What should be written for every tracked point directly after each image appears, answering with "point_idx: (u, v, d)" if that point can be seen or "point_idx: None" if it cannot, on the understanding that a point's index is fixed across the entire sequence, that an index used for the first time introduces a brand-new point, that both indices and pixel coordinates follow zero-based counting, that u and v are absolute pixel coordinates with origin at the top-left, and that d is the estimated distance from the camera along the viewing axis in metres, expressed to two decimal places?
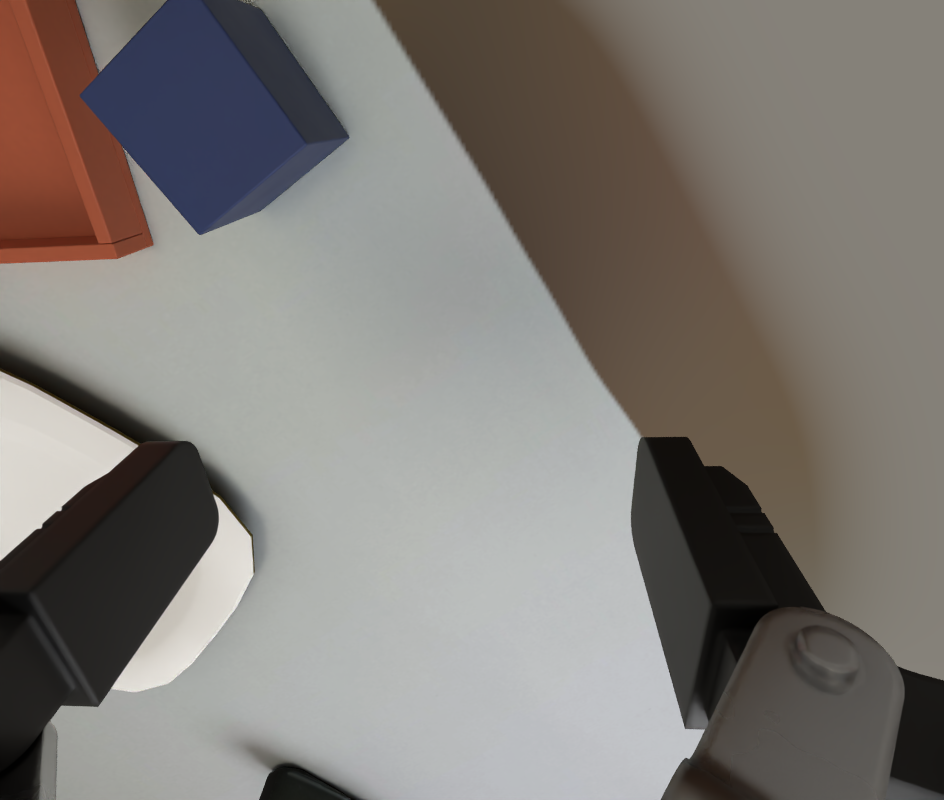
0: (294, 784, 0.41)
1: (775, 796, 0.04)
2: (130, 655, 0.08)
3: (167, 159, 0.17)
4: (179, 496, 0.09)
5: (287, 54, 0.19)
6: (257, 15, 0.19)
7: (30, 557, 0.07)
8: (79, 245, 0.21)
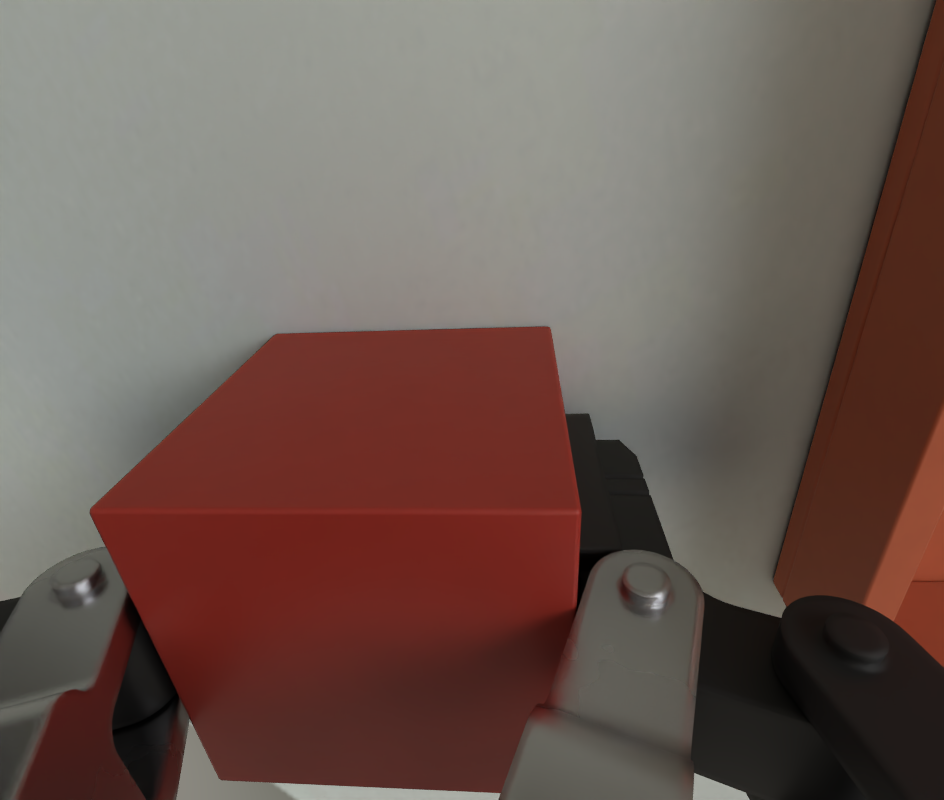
0: None
1: (569, 690, 0.05)
2: None
3: None
4: None
5: None
6: None
7: None
8: None
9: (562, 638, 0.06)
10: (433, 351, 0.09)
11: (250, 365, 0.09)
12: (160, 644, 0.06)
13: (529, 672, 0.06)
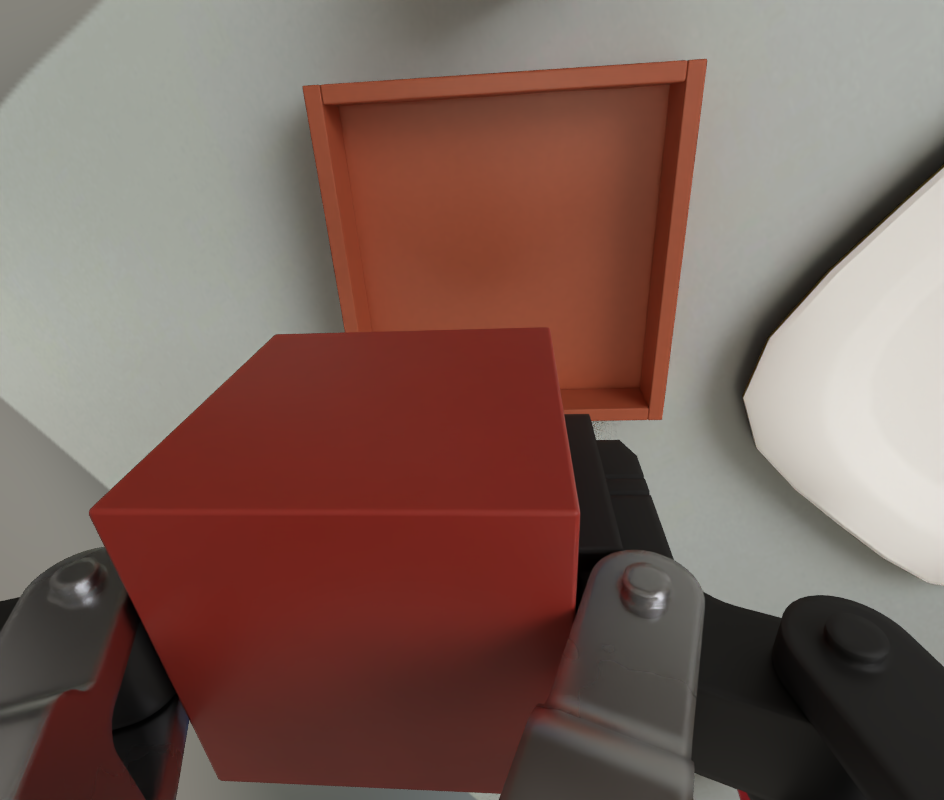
0: None
1: (569, 690, 0.05)
2: None
3: None
4: None
5: None
6: None
7: None
8: (683, 110, 0.18)
9: (561, 639, 0.06)
10: (433, 352, 0.09)
11: (249, 366, 0.09)
12: (160, 645, 0.06)
13: (528, 673, 0.06)
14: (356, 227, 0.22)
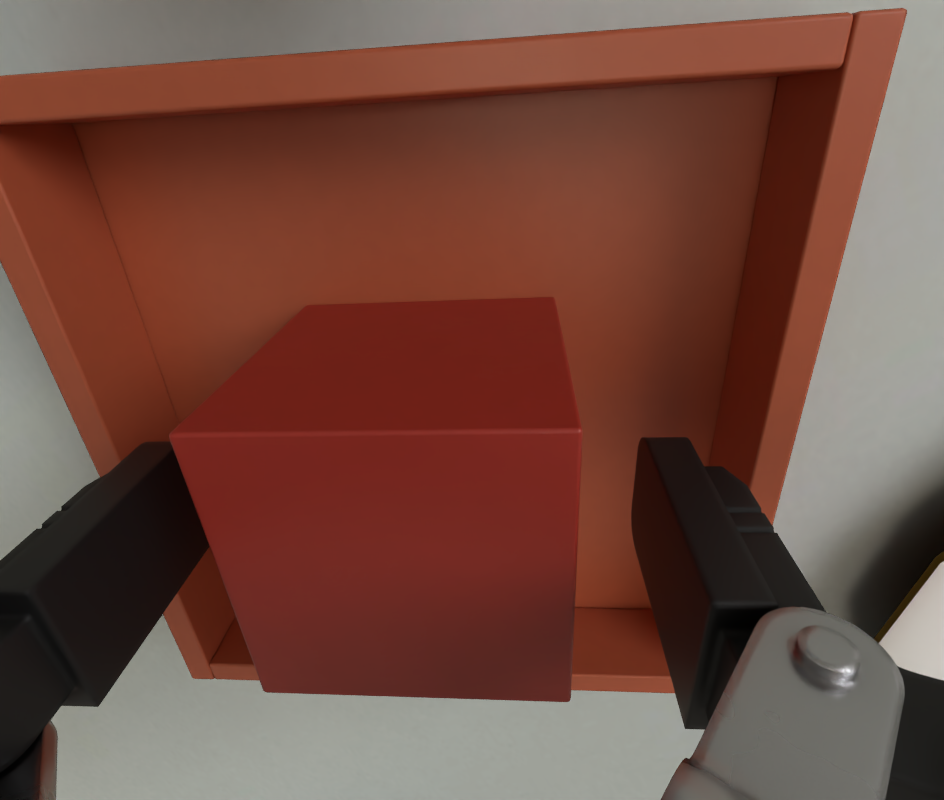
0: None
1: (775, 797, 0.04)
2: (130, 655, 0.08)
3: None
4: (179, 496, 0.09)
5: None
6: None
7: (30, 557, 0.07)
8: (828, 139, 0.07)
9: (566, 547, 0.07)
10: (450, 317, 0.10)
11: (286, 329, 0.10)
12: (221, 559, 0.08)
13: (539, 580, 0.07)
14: (152, 351, 0.12)
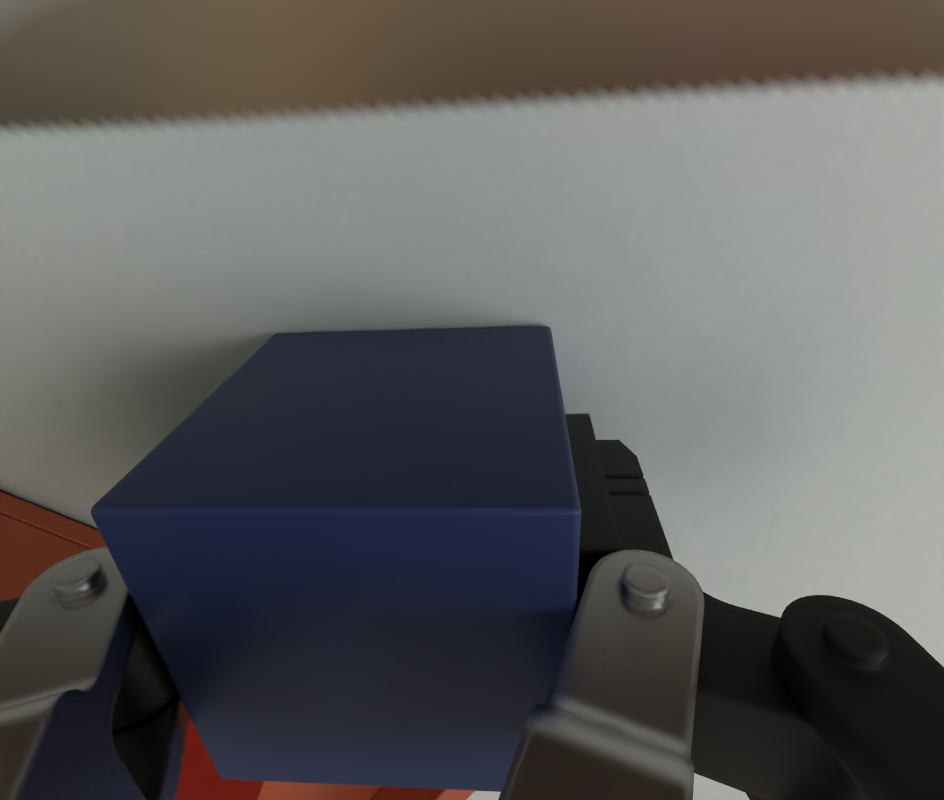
0: None
1: (569, 690, 0.05)
2: None
3: (400, 750, 0.07)
4: None
5: (359, 343, 0.09)
6: (276, 352, 0.09)
7: None
8: None
9: None
10: (197, 743, 0.14)
11: None
12: None
13: None
14: None
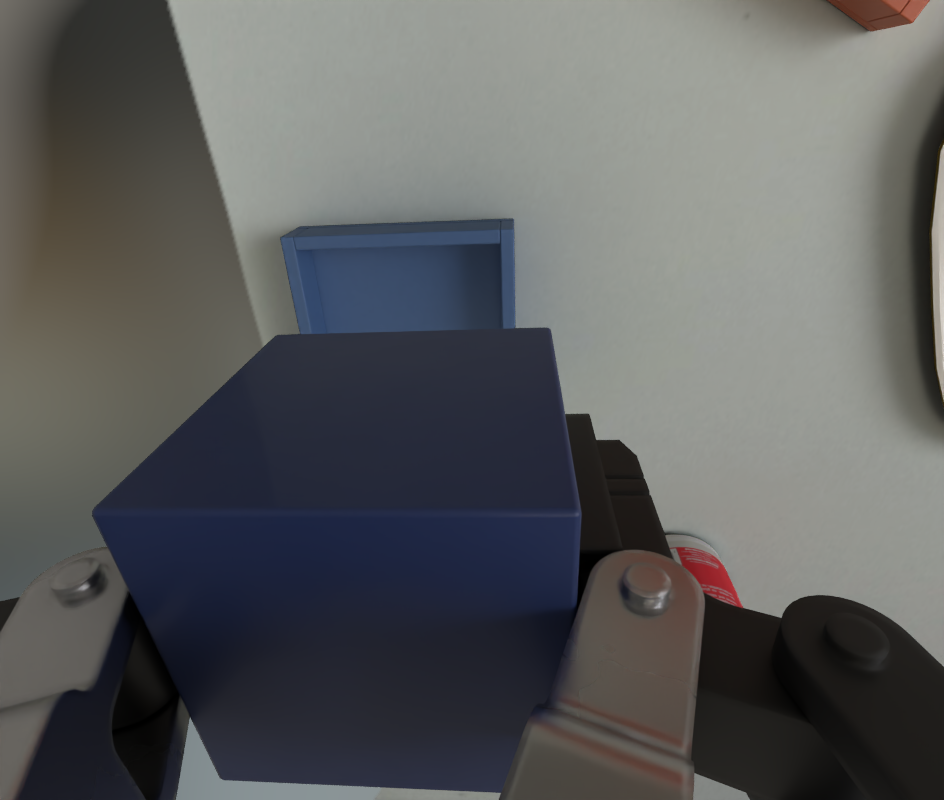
0: None
1: (570, 690, 0.05)
2: None
3: (400, 752, 0.07)
4: None
5: (360, 344, 0.09)
6: (276, 353, 0.09)
7: None
8: None
9: None
10: None
11: None
12: None
13: None
14: None
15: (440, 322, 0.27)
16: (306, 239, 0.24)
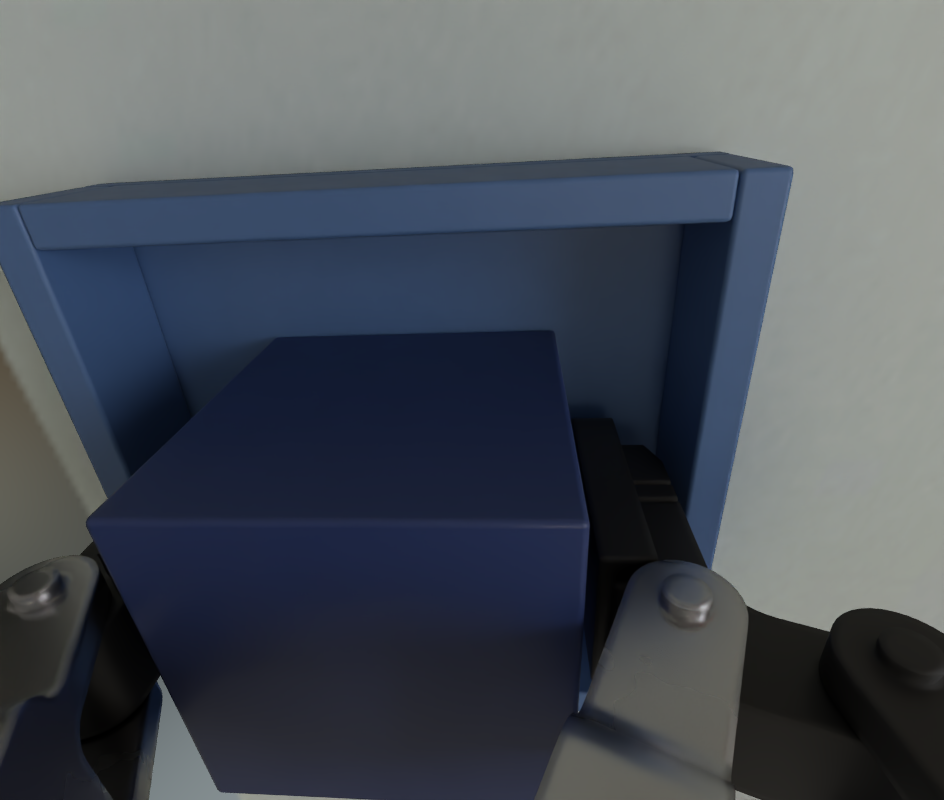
0: None
1: (615, 708, 0.05)
2: None
3: (402, 765, 0.07)
4: None
5: (361, 347, 0.09)
6: (276, 357, 0.09)
7: None
8: None
9: None
10: None
11: None
12: None
13: None
14: None
15: None
16: (62, 213, 0.07)
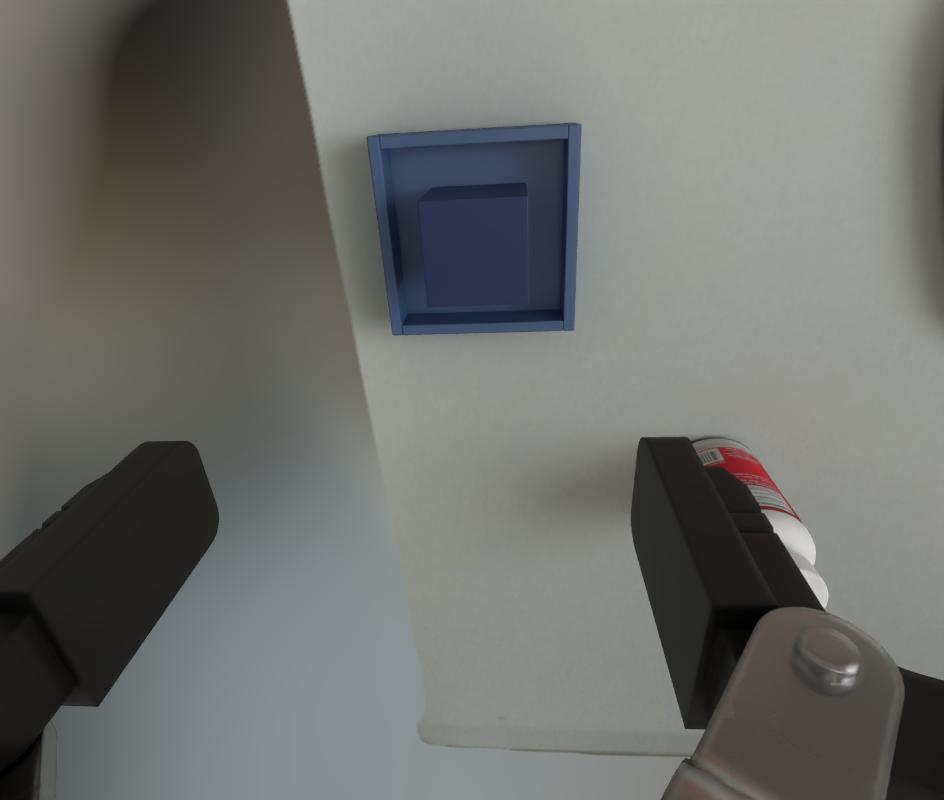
0: None
1: (775, 796, 0.04)
2: (130, 655, 0.08)
3: (482, 286, 0.26)
4: (179, 496, 0.09)
5: (463, 186, 0.28)
6: (437, 188, 0.28)
7: (30, 557, 0.07)
8: None
9: None
10: None
11: None
12: None
13: None
14: None
15: None
16: (390, 138, 0.26)
